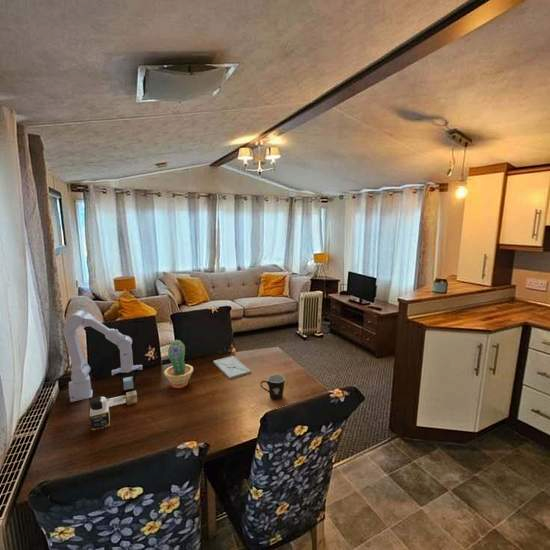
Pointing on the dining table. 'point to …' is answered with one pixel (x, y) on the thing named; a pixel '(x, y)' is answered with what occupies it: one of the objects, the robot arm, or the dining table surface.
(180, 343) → the potted cactus
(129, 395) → the oak block
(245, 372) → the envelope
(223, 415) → the dining table surface
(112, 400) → the letter
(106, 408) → the medicine bottle
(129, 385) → the slate cube
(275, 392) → the coffee mug
